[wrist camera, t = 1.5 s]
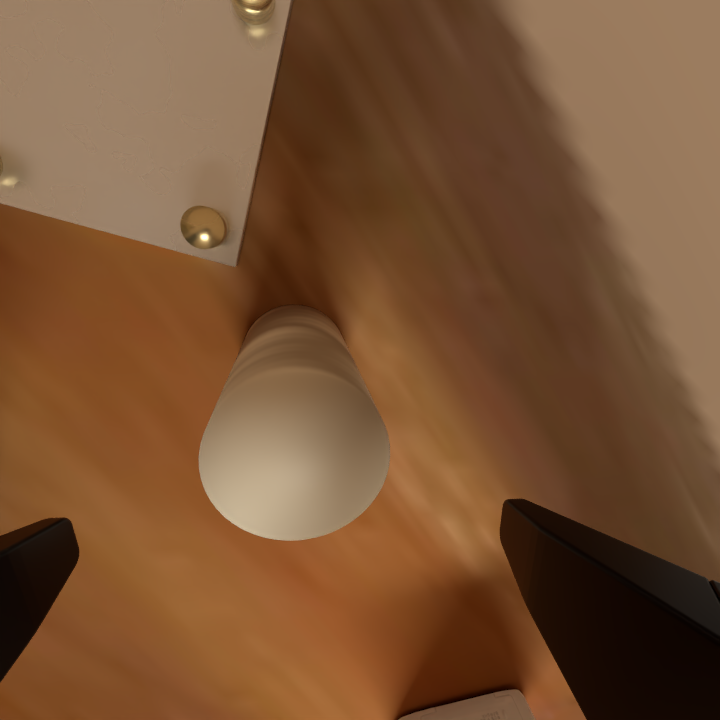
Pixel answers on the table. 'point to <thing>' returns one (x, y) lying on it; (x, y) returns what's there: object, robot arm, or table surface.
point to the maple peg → (294, 432)
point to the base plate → (139, 114)
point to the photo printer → (480, 708)
